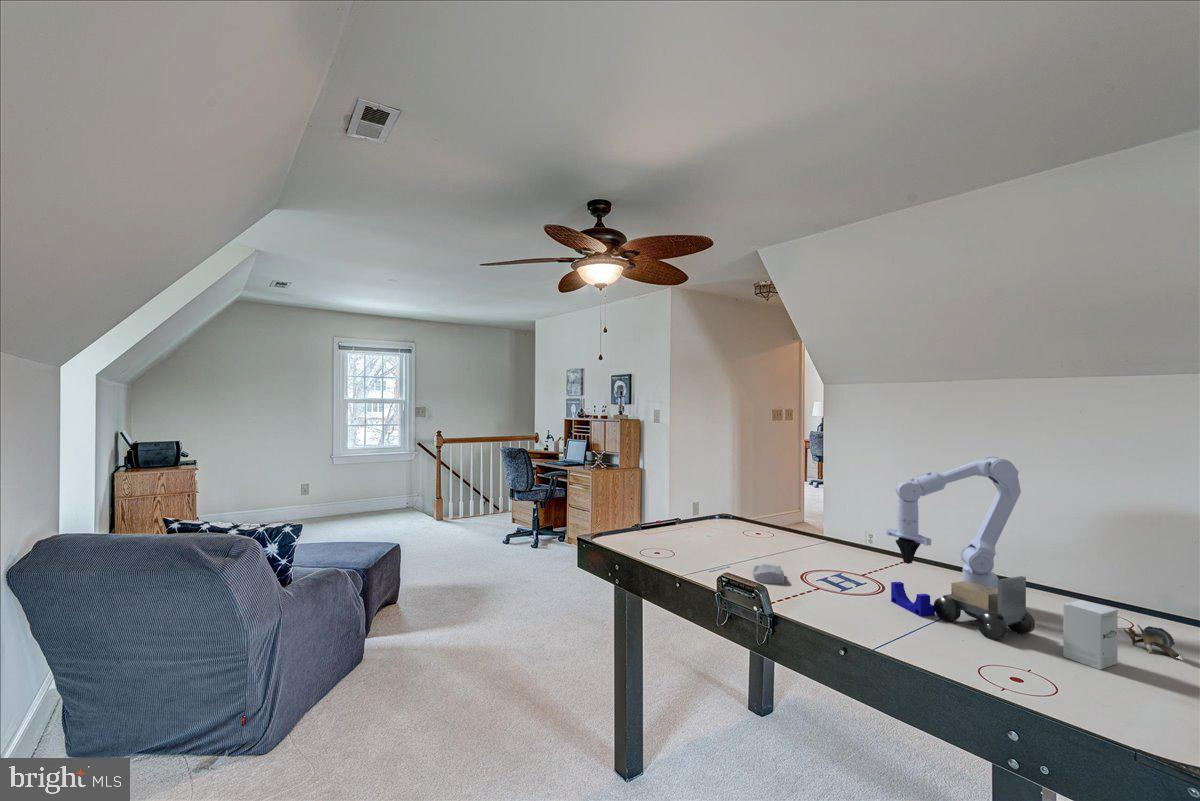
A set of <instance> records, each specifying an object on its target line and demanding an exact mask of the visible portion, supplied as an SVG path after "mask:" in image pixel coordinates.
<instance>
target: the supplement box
mask: <svg viewBox="0 0 1200 801" xmlns="http://www.w3.org/2000/svg"><path fill="white" fill-rule="evenodd" d="M1118 611H1119V610H1118V609H1115V608H1114V607H1108V606H1106V605H1101V604H1097V603H1094V602H1089V601H1086V600H1081V599H1079V600H1074V601H1070V602H1065V603H1063V629H1062V630H1063V633H1062V634H1063V636H1062V637H1063V640H1062V642H1063V646H1062V649H1063V650H1062V652H1063V655H1062V656H1063V657H1064V658H1067V659H1069V660H1072V661H1075V662H1077V663H1080V664H1083V665H1085V666H1088V667H1091V668H1093V669H1097V670H1100V671H1101V670H1103V669H1106V668H1108V667H1111V666H1115V665H1118V632H1119V631H1118V630H1119V628H1118V621H1119V620H1118Z"/></svg>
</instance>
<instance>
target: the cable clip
mask: <svg viewBox="0 0 1200 801" xmlns="http://www.w3.org/2000/svg"><path fill="white" fill-rule="evenodd" d="M890 599H891V600H890V602H891V603H893V604H895V605H897V606H898V607H901V608H903V609H905V610H906V611H909V612H910V613H912V614H914V615H916V616H918V617H920V618H925V617H926V618H927V617H929V618H930V617H936V613H935V610H934V604H932V603H931V595H930V594H928V593H917V594H916V598H915V601H914V602H913V601H912V600H910V598H909V597H908V596H907V592H906V591H905V585H904V583H903V582H901V581H891V583H890Z"/></svg>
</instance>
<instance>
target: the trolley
mask: <svg viewBox="0 0 1200 801" xmlns="http://www.w3.org/2000/svg"><path fill="white" fill-rule="evenodd" d="M1026 579H1027V578H1026V576H1021V575H1020V576H1012V577H1007V578H1000V579H999V578H998V589H995V588H992V587H989V586H985V585H982V584H979V583H976V582H972V581H963V580H961V581H957V582H950V583H951V588H950V589H951V591H950V592H951V593H950V594H944V595H942V596H943V597H939V598H936V599H935V600H934V602H933V605H934V610H935V615H936V616H937V617H938V618H939V619H940V620H942V621H944V622H953V621H957V620H959V618H961V612H962V611H961V610H963V612H964V613H965V614H967V615H968V616H969V617H974V618H975V617H977V618H976V626H977V629H978V631H979V633H981V635H983V636H984V637H985V638H986V639H989V640H998V639H1002V638H1004V637H1006V636H1007V634H1008V630H1011V631H1012V632H1013V633H1015V634H1017V635H1024V634H1027V633H1031V632H1033V631H1034V630H1035V627H1036V622H1035V621H1036V620H1035V619H1034V617H1033V615H1032V614H1031V613H1030V612H1029V611H1028V610H1027V580H1026Z"/></svg>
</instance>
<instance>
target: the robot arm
mask: <svg viewBox="0 0 1200 801" xmlns="http://www.w3.org/2000/svg"><path fill="white" fill-rule="evenodd" d="M973 476H977V477H984V478H988V479H989V480H991V482H992V484H993V485H994V487H995V489H996V490H997V491H996V494H995V496H994V498H993V500H992V501H991V505H990V506H989V509H988V510H987V513H986V515H985V517H984V519H983V521H982V523H981V525H980V527H979V529H978V531H977V533H976V535H975V537H974V538H972V539H971V540H970V542H968V545H966V547H965V546H964V547H963V549H962V550H961V552H960V558H961V561H962V562H963V563H964V565H963V566H962V581H972V582H976V583H979V584H982V585H985V586H989V587H992V588H995V589H998V579H999V576H997V574H996V573H995V572H994V571H993V569H994V566H995V564H994V562H995V561H994V560H995V559H994V558H995V556H996V545H997V543H998V540H999V538H1000V537H1001V535H1002V532H1003V531H1004V528H1005V526H1006V524H1007V522H1008V520H1009V519H1010V516H1011V514H1012V512H1013V510H1014V508H1015V505H1016V503H1017V501H1018V500H1019V498H1020V495H1021V493H1022V491H1021V485H1020V480H1019V470H1018V468H1016V466H1015V465H1014V464H1013V463H1012V462H1011V461H1010V460H1008V459H1004V458H999V457H996V456H988V457H986V458H981V459H977V460H974V461H971V462H967V463H966V464H963V465H961V466H958V467H956V468H953V469H950V470H947V471H945V472H943V473H938V472H935V471H932V472H931V471H927V472H925V474H924V475H922V476H919V477H916V478H914V477H911V478H909V481H901V482H900V483H899V484H897V486H896V489H895V492H896V495H897V496H898V498H897V499H898V500H897V529H894V528H886V530H885V531H886V534H885V535H886V536H888V537H890V536H891V537H896V538H898V539H895V543H896V544H897V547H898V549H899V551H900V553H901V557H902V560H903V563H904V564H907V565H908V564H913V561H914V557H915V554H916V552H917V550H918V549H919V547H920V546H921V544H922V545H923V546H932V539H931V538H929V537H926V536H923V535H921V534H919V499H920V498H921V497H924V496H927V495H928V496H929V495H931V494H933V493H937V492H939V491H942V490H944V489H945V487H946V485H947V484H949V483H953V482H957V481H960V480H964V479H967V478H970V477H973Z"/></svg>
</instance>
